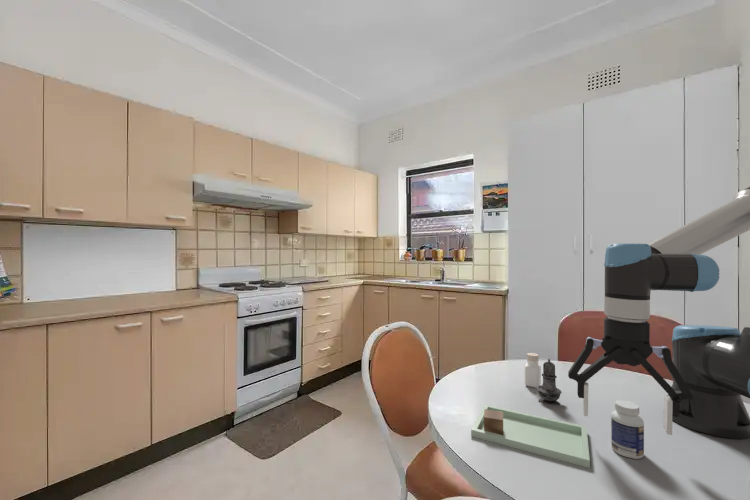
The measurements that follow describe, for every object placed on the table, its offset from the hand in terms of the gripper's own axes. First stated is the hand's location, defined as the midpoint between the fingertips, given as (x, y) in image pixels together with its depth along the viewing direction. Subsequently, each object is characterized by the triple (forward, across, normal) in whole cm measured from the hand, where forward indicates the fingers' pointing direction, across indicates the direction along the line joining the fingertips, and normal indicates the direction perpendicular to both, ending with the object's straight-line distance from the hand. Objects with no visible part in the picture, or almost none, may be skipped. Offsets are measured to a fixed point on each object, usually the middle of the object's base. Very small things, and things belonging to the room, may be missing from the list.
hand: (624, 422), depth 69 cm
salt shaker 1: (+6, +19, -28) cm, 35 cm away
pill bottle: (+6, -1, 0) cm, 6 cm away
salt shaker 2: (+6, +14, -17) cm, 23 cm away
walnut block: (+6, +24, +7) cm, 26 cm away
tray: (+6, +17, +4) cm, 19 cm away
